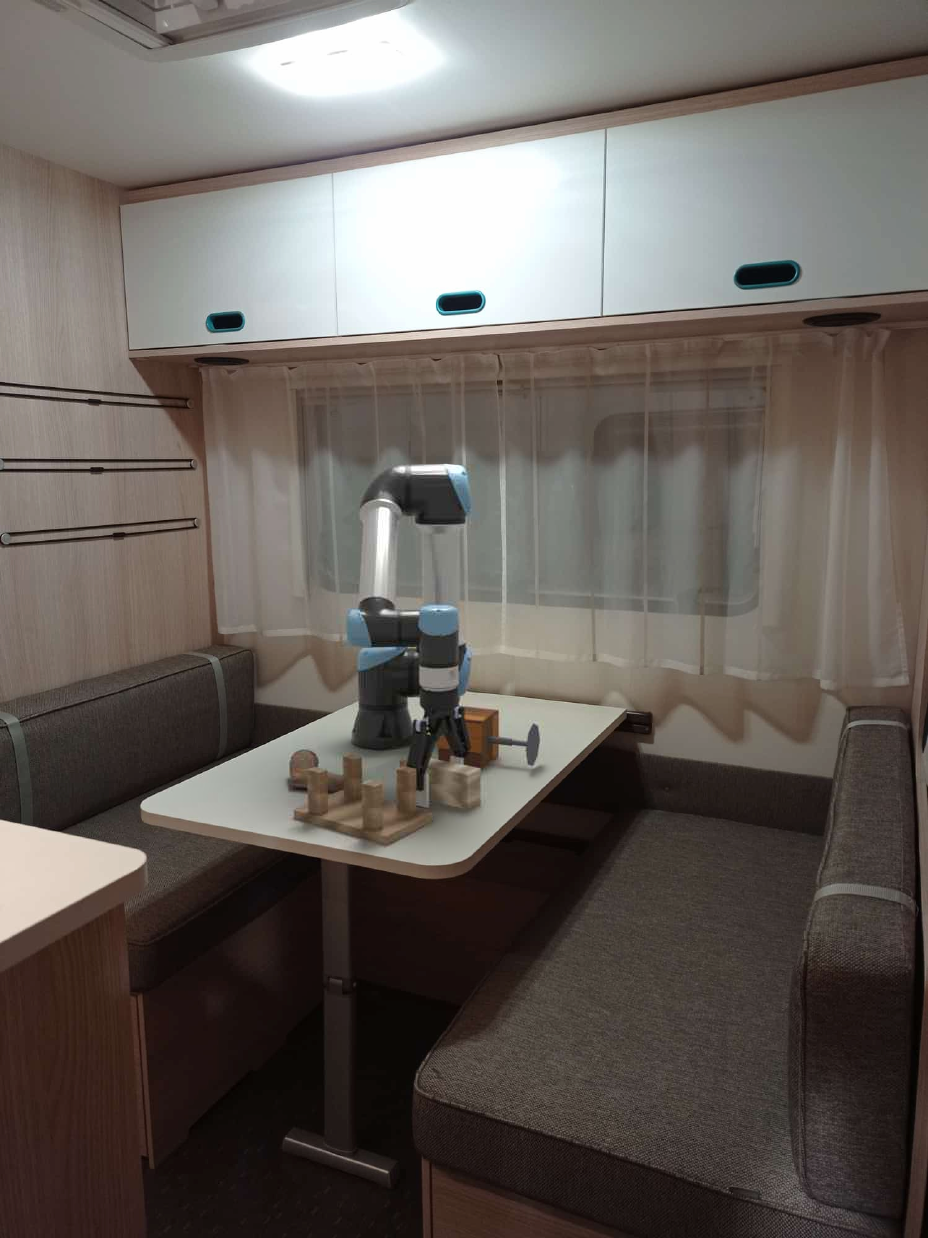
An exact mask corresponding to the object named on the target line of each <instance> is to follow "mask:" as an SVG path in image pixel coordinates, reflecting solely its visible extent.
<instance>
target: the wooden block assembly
mask: <svg viewBox="0 0 928 1238" xmlns="http://www.w3.org/2000/svg"><path fill="white" fill-rule="evenodd" d="M327 772H328V770H327V769H325V768H321V767H318V768H317V767H314V768H311V769H308V770H307V781H308V789H307V803H306V804H305V805H302V806H300V807H298V808H296V809H295V808H294V809H293V818H294V819H297V820H300V821H304V822H307V823H310V824H313V825H317V826H320V827H321V826H322V827H324V828H328V829H331V830H334V831H338V832H341V833H345V834H348V835H352V836H355V837H359V838H362V839H366V840H369V841H372V842H375V843H378V844H382V845H386V846H388V845H389V844H391V843H393V842H395V841H397V840H398V839H401V838H403V837H405V836H407V835H408V834H411V833H413V832H414V831H416V830H418V829H420V828H422V827H424V826H426V825H428V824H429V823H432V822H433V812H429V811H425V810H421V809H417V807H418V805H417V792H416V769H414V768H410V767H405V766H402V767H400V766H399V767H397V768H396V769H395V772H396V773H395V776H396V777H395V778H396V803H394V802H389V801H387V800H384V791H383V790H384V788H383V787H384V785H383V784H384V783H383V782H378V781H374V780H370V779H369V780H367V781H364V782H363V757H362V756H360V755H356V754H350V753H349V754H346V755H343V756H342V773H343V774H342V775H343V787H344V790H340V791H338V792H336V793H335V792H332V794H329V793H328V786H327ZM328 794H329V795H328Z"/></svg>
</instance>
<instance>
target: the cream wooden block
mask: <svg viewBox="0 0 928 1238" xmlns="http://www.w3.org/2000/svg"><path fill="white" fill-rule="evenodd" d="M407 760H408V756H407V757H404V758H402V759H400V760H399V768H400V767H402V766H405V767H406V765H407ZM481 771H482V770H481V768H476V767H471V766H466V765H462V764H457V763H452V762H447V761H442V760H438V758H432V757H431V758H430V761H429V764H428V767H427V770H426V773H429V802H432V803H433V802H434V803H438V804H442V805H446V806H449V807H454V808H459V809H463V810H467V811H468V810H470V809H472V808H473V807H476V806H477V805H480V804H481V801H482V800H481V797H482V796H481V794H482V793H481V791H482V787H481V786H482V783H481V781H482V778H481V777H482V776H481V773H482V772H481Z"/></svg>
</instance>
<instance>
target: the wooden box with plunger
mask: <svg viewBox="0 0 928 1238" xmlns="http://www.w3.org/2000/svg"><path fill="white" fill-rule="evenodd" d="M460 698H461V696H459V703H460V701H461V699H460ZM458 707H464V709H465V722H466V727H467V731H468V736H469V740H470V745H471V750H470V751H467V752H469V756H468V757H467V758H466V757H464V765H466V766H471V767H476V768H481V771H482V770H483V769H484V768H485V767H487V766H488V765H489V764H491V763H492V762H493V761H495V760H496V759H498V757H499V756H500V754H499V748H500V745H501V746H508V747H512V746H518V747H525V755H526V761H527V765H528V766H531V767H533V766H534V765H535V763H536V760H537V758H538V756H539V750H540V749H539V748H540V741H541V737H540V736H541V735H540V729H539V725H538V724H536V723H532V725H531V726H530V729H529V731H528V733H527V739H526V740H518V739H513V738H510V737H503V736H502V737H501V736H500V735H499V734H500V731H499V730H500V729H499V726H500V725H499V724H500V723H499V722H500V721H499V720H500V717H499V716H500V715H499V713H500V712H499V710H500V709H497V708H495V709H494V708H484V707H476V706H475V707H474V706H467V705H466V706H464V705H460V704H459V705H458ZM463 744H464V745H465V743H463ZM451 756H455V755H453V753H452V751H451V749H450V747H449V744H448V742H447V740H446V738H445V736H444V734H443V735H441V736H440V738H439V740H438V741H437V760H442V761H447V762H450V757H451Z"/></svg>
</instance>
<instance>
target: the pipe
mask: <svg viewBox="0 0 928 1238" xmlns="http://www.w3.org/2000/svg"><path fill="white" fill-rule="evenodd" d="M319 763H320V760H319V758H318V756H317V754H316V753H315V752H314V751H312V750H310V749H306V748H304V749H300V750H299V749H298V750H296V751H295V752H294V753H293V754H292V755H291V757H290V761H289V777H290V780H289V785H290V787H292V788H300V789H305V790H308V781H307V770H308V769H311V768H314V767H317V768H319ZM327 786H328V792H329V793H336V792H338V791H340V790H344V787H343V774H339V773H334V772H328V771H327Z"/></svg>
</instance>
